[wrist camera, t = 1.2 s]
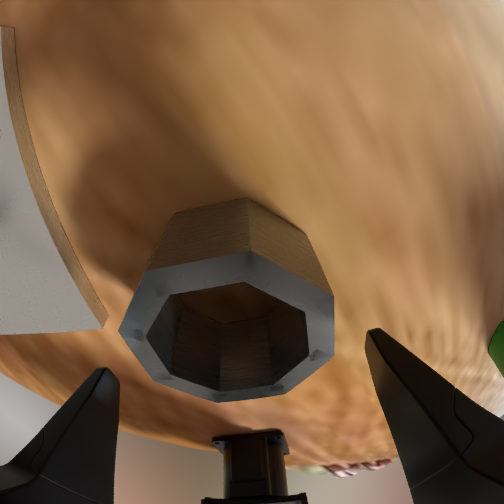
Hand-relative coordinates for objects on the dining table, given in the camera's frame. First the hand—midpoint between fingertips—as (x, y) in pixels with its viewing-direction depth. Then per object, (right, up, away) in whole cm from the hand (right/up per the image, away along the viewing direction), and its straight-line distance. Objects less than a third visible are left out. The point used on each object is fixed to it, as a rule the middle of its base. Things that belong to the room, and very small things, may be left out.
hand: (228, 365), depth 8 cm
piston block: (-16, +5, +1) cm, 17 cm away
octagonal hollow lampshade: (0, +2, +4) cm, 5 cm away
